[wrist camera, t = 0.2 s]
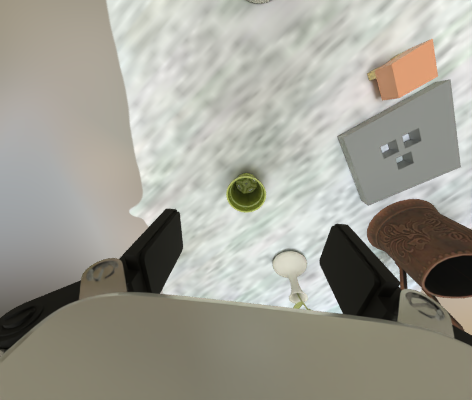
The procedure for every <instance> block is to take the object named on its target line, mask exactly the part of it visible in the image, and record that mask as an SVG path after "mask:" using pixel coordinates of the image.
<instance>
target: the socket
mask: <svg viewBox="0 0 472 400" xmlns="http://www.w3.org/2000/svg"><path fill="white" fill-rule="evenodd" d="M407 133H409V137H410V140H408V141H406V142H403V138H402V136H403V135H405V134H407ZM338 139H339V142H340V145H341V147H342V150H343V153H344V155H345V158H346V161H347V163H348V166H349V169H350V171H351V174H352V177H353V179H354V182H355V185H356V187H357V190H358V193H359V195H360V198H361V201H363V202H364V203H365V204H367V205H371V204H373V203H376V202H378V201H380V200H383V199H385V198H388V197H390V196H392V195H395V194H397V193H400V192H402V191H404V190H407V189H409V188H412V187H414V186H416V185H419V184H421V183H424V182H426V181H429V180H431V179H433V178H436V177H438V176H441V175H443V174H445V173H448V172H450V171H453V170H455V169H457V168H460V167H461V165H460V157H459V148H458V140H457V131H456V123H455V114H454V106H453V97H452V89H451V80H445V81H440V82H435V83H433V84H431V85H430V86H428V87H426V88H424V89H422V90H421V91H419V92H417V93H415V94H413V95H412V96H410V97H408V98H406V99H404V100H403V101H401V102H399V103H397V104H395V105H394V106H392V107H390V108H388V109H386V110H385V111H383V112H381V113H379V114H377V115H376V116H374V117H372V118H370V119H368V120H367V121H365V122H363V123H361V124H359V125H357V126H356V127H354V128H352V129H350V130H348V131H347V132H345V133H343V134H341V135H339V136H338ZM387 143H388V146H389V149H390V150H388V151H386V152H384V153H382V151H381V146H383V145H385V144H387ZM400 156H403V161H401V162H399V163H397V162H396V158H398V157H400Z"/></svg>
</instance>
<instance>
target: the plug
mask: <svg viewBox="0 0 472 400" xmlns="http://www.w3.org/2000/svg"><path fill="white" fill-rule="evenodd" d="M367 75H368V78H369V80H373V79H377V82H378V86H379V90H380V94H381V98H382V100H388V99H396V98H400V97H402V96H404V95H405V94H407V93H409V92H411V91H413V90H414V89H416V88H418V87H420V86H421V85H423V84H425V83H427V82H429V81H430V80H432V79H434V78H436V77H438V74H437V67H436V60H435V53H434V45H433V39H431V40H428V41H426V42H424V43H421V44H419V45H417V46H415V47H412V48H410V49H408V50H407V51H405V52H403V53H400V54H398V55H396V56H395V57H393V58H392V59H391V61H389V62H387V63H386V64H384V65H383V66H381V67H379V68H377V69H374V70H373V71H371V72H369V73H368V74H367Z"/></svg>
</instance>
